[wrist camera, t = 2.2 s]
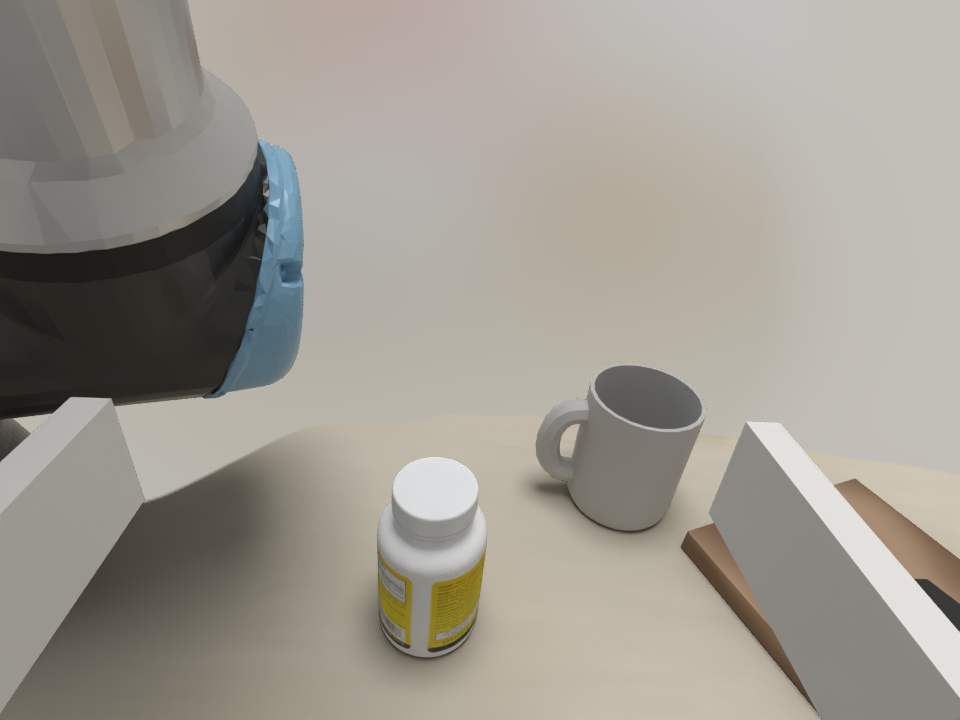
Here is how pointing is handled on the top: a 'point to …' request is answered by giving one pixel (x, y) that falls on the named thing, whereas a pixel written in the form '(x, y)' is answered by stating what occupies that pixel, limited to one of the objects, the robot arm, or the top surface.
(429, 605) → the supplement bottle
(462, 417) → the top surface
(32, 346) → the robot arm
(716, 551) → the walnut board
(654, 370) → the cup
